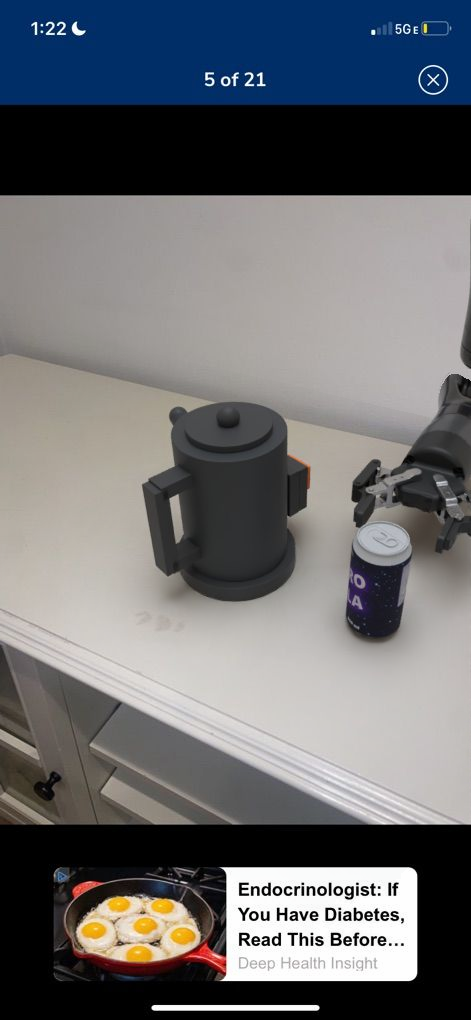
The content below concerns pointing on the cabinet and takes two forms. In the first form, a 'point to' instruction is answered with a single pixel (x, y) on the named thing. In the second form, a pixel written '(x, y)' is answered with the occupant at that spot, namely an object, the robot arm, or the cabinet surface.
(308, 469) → the kettle switch
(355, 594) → the beverage can
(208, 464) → the kettle
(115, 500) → the cabinet surface
